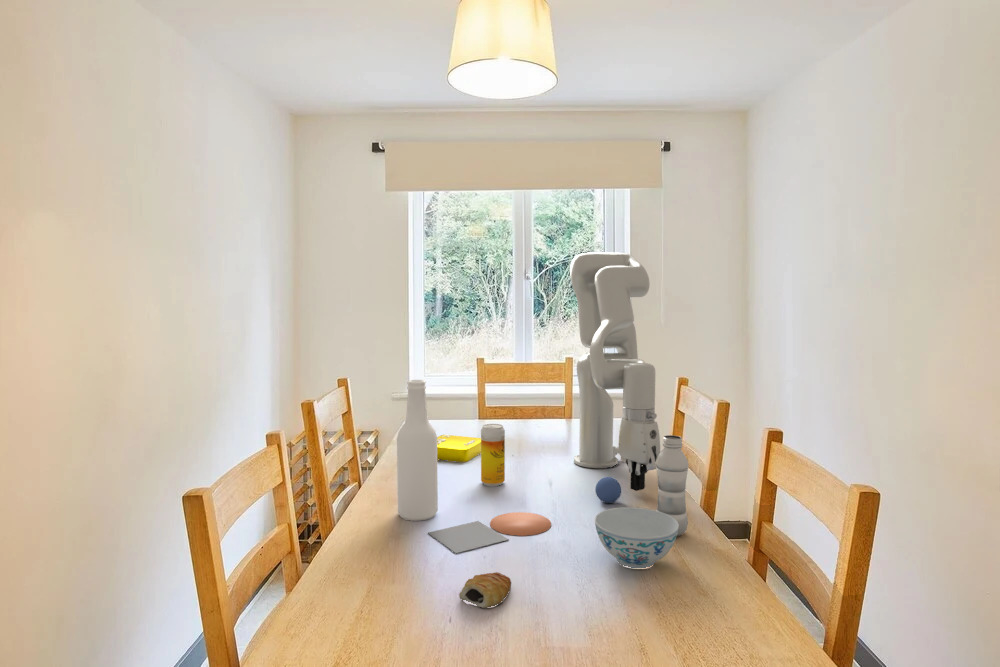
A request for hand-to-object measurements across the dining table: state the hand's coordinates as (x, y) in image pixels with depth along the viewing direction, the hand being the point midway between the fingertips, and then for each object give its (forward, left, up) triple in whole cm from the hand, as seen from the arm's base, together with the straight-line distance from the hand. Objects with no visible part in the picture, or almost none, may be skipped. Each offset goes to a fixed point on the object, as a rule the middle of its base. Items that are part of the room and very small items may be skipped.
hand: (637, 489), depth 154 cm
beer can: (+24, -27, -2) cm, 36 cm away
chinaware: (+27, +27, -2) cm, 39 cm away
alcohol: (+50, -17, -2) cm, 53 cm away
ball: (+9, 0, +2) cm, 10 cm away
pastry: (+57, +23, -2) cm, 62 cm away
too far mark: (+47, 0, -2) cm, 48 cm away
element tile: (+19, -58, -2) cm, 61 cm away
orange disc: (+34, 0, -2) cm, 35 cm away
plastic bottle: (+11, +21, -2) cm, 24 cm away
